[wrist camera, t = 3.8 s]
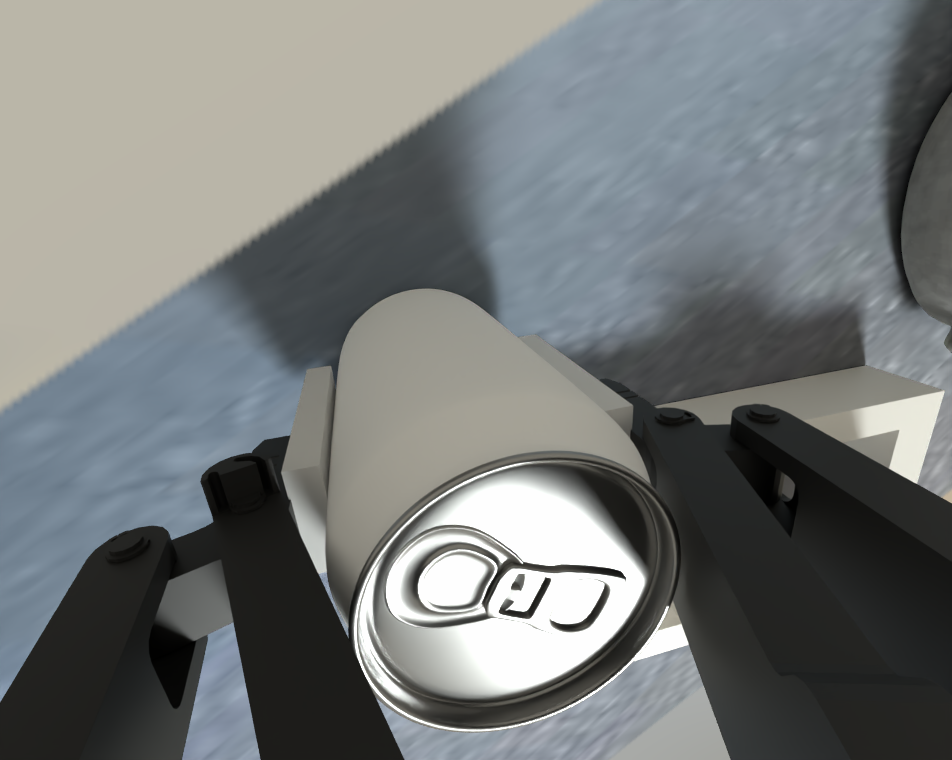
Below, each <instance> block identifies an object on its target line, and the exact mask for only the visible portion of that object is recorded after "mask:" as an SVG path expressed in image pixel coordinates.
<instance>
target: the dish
mask: <svg viewBox="0 0 952 760" xmlns="http://www.w3.org/2000/svg"><path fill="white" fill-rule="evenodd" d="M901 247H902V256H903V263H904V268H905V272H906V276H907V278H908V281H909V284H910V287H911V290H912V293H913V295H914V297H915V299H916V301H917V302H918V303H919V304H920V306H921V307H922V308H923V309H924V311H925V312H926V313H927V314H928V315H930V316H931V317H933V318H935V319H936V320H938V321H940V322H942V323H944V324H947V325H950V326H951V330H950V332H949V334H948V335H947V337H946V339H945V341H944V344H945V346H946V348H947V349H948V350H949V351H950V352H951V353H952V92H951V94H950V95H949V97H948V98H947V100H946V101H945V103H944V104H943V106H942V107H941V109H940V111H939V112H938V114H937V116H936V118H935V119H934V121H933V123H932V125H931V127H930V129H929V131H928V133H927V135H926V136H925V138H924V141H923V143H922V145H921V148H920V150H919V153H918V155H917V158H916V161H915V164H914V168H913V171H912V174H911V177H910V181H909V185H908V190H907V195H906V200H905V205H904V210H903V218H902V229H901Z"/></svg>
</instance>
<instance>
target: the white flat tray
mask: <svg viewBox="0 0 952 760" xmlns="http://www.w3.org/2000/svg"><path fill="white" fill-rule="evenodd" d="M944 392H945V390H941V389H938V388H935V387H932V386H929V385H926V384H923V383H920V382H917V381H914V380H910V379H907V378H904V377H901V376H898V375H895V374H892V373H889V372H886V371H883V370H879V369H876V368H873V367H870V366H867V365H866V366H861V367H855V368H850V369H845V370H840V371H834V372H829V373H824V374H819V375H814V376H808V377H803V378H798V379H793V380H788V381H782V382H777V383H772V384H767V385H761V386H756V387H751V388H746V389H741V390H735V391H730V392H725V393H720V394H715V395H709V396H704V397H699V398H694V399H688V400H683V401H678V402H673V403H668V404H662V405H657V406H654V407H656V408H663V407H667V408H678V409H683V410H687V411H689V412H691V413H694V414H695V415H696V416H698V417H699V418H700V419H701V421H702V422H703V423H704V425H719V424H731V416H732V410H734V409H735V408H736V407H739V406H743V405H752V404H760V405H761V404H765V405H769V406H771V407H775V408H779V409H781V410H783V411H786V412H788V413H790V414H792V415H793V416H795V417H797V418H799V419H801V420H802V421H804V422H806V423H808V424H810V425H811V426H813V427H815V428H817V429H819V430H820V431H822V432H824V433H826V434H828V435H829V436H831V437H833V438H835V439H837V440H838V441H840V442H842V443H844V444H846V445H847V446H849V447H851V448H853V449H855V450H856V451H858V452H860V453H862V454H864V455H865V456H867V457H869V458H871V459H873V460H874V461H876V462H878V463H880V464H882V465H883V466H885V467H887V468H889V469H891V470H892V471H894V472H896V473H898V474H900V475H901V476H903V477H905V478H907V479H909V480H910V481H912V482H914V483H916V484H917V481H918V478H919V475H920V471H921V468H922V465H923V461H924V458H925V455H926V451H927V448H928V445H929V441H930V438H931V435H932V432H933V428H934V425H935V422H936V418H937V415H938V412H939V408H940V405H941V402H942V398H943V395H944ZM686 645H689V644H688V641H687V638H686V635H685V633H684V630H683V627H682V624H681V622H680V619H679V616H678V613H677V611H676V608H675V605H674V602H673V601H672V604H671V606H670V608H669V611H668V613H667V615H666V617H665V619H664V621H663V622H662V624H661V626H660V628H659V629H658V631H657V632H656V634H655V635H654V637H653V638H652V640H651V641H650V642H649V644H648V645H647V646H646V648H645V649H644V650H643V651H642V652H641V654H640V655H639V656H638V657H637V658H636V659H635V660H634V661H636V660H639V659H643V658H646V657H649V656H653V655H656V654H659V653H663V652H666V651H669V650H672V649H676V648H679V647H682V646H686Z"/></svg>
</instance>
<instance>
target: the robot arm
mask: <svg viewBox="0 0 952 760" xmlns="http://www.w3.org/2000/svg"><path fill="white" fill-rule="evenodd" d="M518 338H519V339H520V340H521V341H522V342H524V343H525V344H526V345H527V346H528V347H530V348H531V349H532V350H533V351H534V352H536V353H537V354H538V355H539V356H540V357H542V358H543V359H544V360H545V361H546V362H548V363H549V364H550V365H551V366H552V367H554V368H555V369H556V370H557V371H558V372H560V373H561V374H562V375H563V376H564V377H566V378H567V379H568V380H569V381H570V382H571V383H573V384H574V385H575V386H576V387H577V388H579V389H580V390H581V391H582V392H583V393H584V394H586V395H587V396H588V397H589V398H590V399H591V400H593V401H594V402H595V403H596V404H597V405H598V406H599V407H600V408H602V409H603V410H604V411H605V412H606V413H607V414H608V415H609V416H610V417H611V418H612V419H613V420H614V421H615V422H616V423H617V424H618V425H619V426H620V427H621V428H622V429H623V431H624V432H625V433H626V434H627V435H628V437H629V438H630V439H631V441H632V442H633V443H634V445H635V447H636V448H637V450H638V452H639V454H640V456H641V458H642V460H643V462H644V465H645V467H646V470H647V473H648V476H649V479H650V483H651V485H652V486H653V487H654V488H655V489H656V491H657V492H658V493H659V494H660V495H661V497H662V498H663V499H664V501H665V502H666V504H667V506H668V507H669V509H670V511H671V513H672V515H673V518H674V520H675V523H676V526H677V529H678V533H679V538H680V546H681V568H680V575H679V581H678V585H677V589H676V592H675V595H674V598H673V602H674V605H675V608H676V611H677V613H678V616H679V619H680V622H681V624H682V627H683V630H684V633H685V635H686V638H687V641H688V644H689V646H690V649H691V652H692V655H693V657H694V660H695V663H696V666H697V668H698V671H699V674H700V677H701V679H702V682H703V685H704V688H705V690H706V693H707V696H708V698H709V701H710V704H711V707H712V709H713V712H714V715H715V717H716V720H717V723H718V726H719V729H720V732H721V734H722V737H723V740H724V742H725V745H726V748H727V751H728V753H729V756H730V759H731V760H952V503H950V502H948V501H946V500H944V499H943V498H941V497H939V496H937V495H936V494H934V493H932V492H930V491H928V490H927V489H925V488H923V487H921V486H919V485H918V484H916V483H914V482H912V481H910V480H909V479H907V478H905V477H903V476H901V475H900V474H898V473H896V472H894V471H892V470H891V469H889V468H887V467H885V466H883V465H882V464H880V463H878V462H876V461H874V460H873V459H871V458H869V457H867V456H865V455H864V454H862V453H860V452H858V451H856V450H855V449H853V448H851V447H849V446H847V445H846V444H844V443H842V442H840V441H838V440H837V439H835V438H833V437H831V436H829V435H828V434H826V433H824V432H822V431H820V430H819V429H817V428H815V427H813V426H811V425H810V424H808V423H806V422H804V421H802V420H801V419H799V418H797V417H795V416H793V415H792V414H790V413H788V412H786V411H783V410H781V409H779V408H775V407H771V406H769V405H765V404H761V405H760V404H752V405H743V406H739V407H736V408H735V409H734V410H732V416H731V424H719V425H704V423H703V422H702V421H701V419H700V418H699V417H698V416H696V415H695V414H694V413H691V412H689V411H687V410H683V409H678V408H667V407H663V408H656V407H654V406H653V405H651V404H650V403H649V402H647V401H646V400H644V399H643V398H641V397H638V395H637V394H635V393H634V392H632V391H630V390H629V389H628V388H627V387H625V386H624V385H622V384H621V383H618V382H615V381H612V380H609V379H601V380H598V379H596V378H595V377H594V376H592V375H591V374H589V373H588V372H587V371H585V370H584V369H583V368H581V367H580V366H578V365H577V364H576V363H574V362H573V361H572V360H570V359H569V358H567V357H566V356H565V355H563V354H562V353H561V352H559V351H558V350H557V349H555V348H554V347H552V346H551V345H550V344H548V343H547V342H546V341H544V340H543V339H541V338H540V337H539V336H537V335H536V334H535V335H529V336H522V337H518ZM335 397H336V388H335V383H334V378H333V373H332V368H331V366H325V367H318V368H312V369H307V372H306V376H305V380H304V384H303V388H302V392H301V396H300V400H299V404H298V408H297V412H296V416H295V420H294V424H293V427H292V431H291V435H290V436H284V437H279V438H273V439H267V440H264V441H263V442H262V443H261V444H260V445H258V446H257V447H256V448H255V449H254V450H253V452H252V453H245V454H241V455H237V456H233V457H230V458H228V459H225V460H222V461H220V462H218V463H217V464H215V465H213V466H212V467H210V468H209V469H208V470H207V471H206V472H205V473H204V474H203V475H202V478H201V481H200V482H201V484H202V487H203V490H204V493H205V496H206V499H207V502H208V505H209V508H210V511H211V513H212V516H213V521H214V522H213V523H211V524H209V525H208V526H206V527H204V528H201V529H199V530H197V531H195V532H192V533H189V534H187V535H184V536H181V537H179V538H176V539H173V540H171V538H170V535H169V533H168V531H167V530H166V529H164V528H163V527H159V526H147V527H140V528H136V529H133V530H130V531H125V532H123V533H120V534H119V535H118V536H117V535H116V536H114V537H112V538H111V539H109V540H108V541H107V542H105V543H104V544H102V545H101V546H100V547H98V548H97V549H96V550H95V551H94V552H93V553H92V554H91V555H90V556H89V557H88V559H87V560H86V562H85V563H84V565H83V567H82V568H81V570H80V572H79V573H78V575H77V577H76V578H75V580H74V581H73V583H72V585H71V586H70V588H69V590H68V591H67V593H66V595H65V596H64V598H63V600H62V601H61V603H60V605H59V606H58V608H57V610H56V611H55V613H54V615H53V616H52V618H51V619H50V621H49V623H48V624H47V626H46V628H45V629H44V631H43V633H42V634H41V636H40V638H39V639H38V641H37V643H36V644H35V646H34V648H33V649H32V651H31V653H30V654H29V656H28V658H27V659H26V661H25V662H24V664H23V666H22V667H21V669H20V671H19V672H18V674H17V676H16V677H15V679H14V681H13V682H12V684H11V686H10V687H9V689H8V691H7V692H6V694H5V696H4V697H3V699H2V700H1V702H0V760H182V757H183V752H184V747H185V743H186V738H187V733H188V729H189V724H190V720H191V715H192V710H193V706H194V701H195V696H196V692H197V687H198V683H199V678H200V673H201V669H202V664H203V660H204V655H205V650H206V646H207V641H208V637H207V635H208V634H210V633H212V632H214V631H216V630H218V629H220V628H222V627H224V626H226V625H229V624H231V623H233V622H234V627H235V632H236V637H237V642H238V647H239V653H240V658H241V663H242V668H243V673H244V678H245V683H246V688H247V693H248V698H249V703H250V708H251V713H252V718H253V723H254V728H255V733H256V738H257V743H258V748H259V753H260V758H261V760H404V758H403V756H402V754H401V751H400V749H399V747H398V745H397V743H396V741H395V738H394V736H393V734H392V732H391V730H390V728H389V725H388V723H387V721H386V719H385V717H384V715H383V713H382V710H381V708H380V706H379V704H378V702H377V700H376V697H375V695H374V693H373V691H372V689H371V687H370V684H369V682H368V680H367V678H366V676H365V674H364V671H363V669H362V667H361V665H360V663H359V661H358V658H357V656H356V654H355V652H354V650H353V648H352V646H351V643H350V641H349V639H348V637H347V635H346V633H345V630H344V628H343V626H342V624H341V622H340V620H339V617H338V615H337V613H336V611H335V609H334V607H333V604H332V602H331V600H330V598H329V596H328V594H327V591H326V589H325V587H324V585H323V583H322V581H321V579H320V576H319V574H320V573H324V572H327V568H326V557H325V539H326V516H327V500H328V485H329V472H330V459H331V446H332V433H333V421H334V409H335ZM785 475H787V476H788V477H789V478H790V479H791V480H792V481H793V482H794V484H795V489H794V494H793V497H792V499H790V498H788V497H787V496H786V495H784V494H783V493H782V490H783V485H784V479H785Z"/></svg>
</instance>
